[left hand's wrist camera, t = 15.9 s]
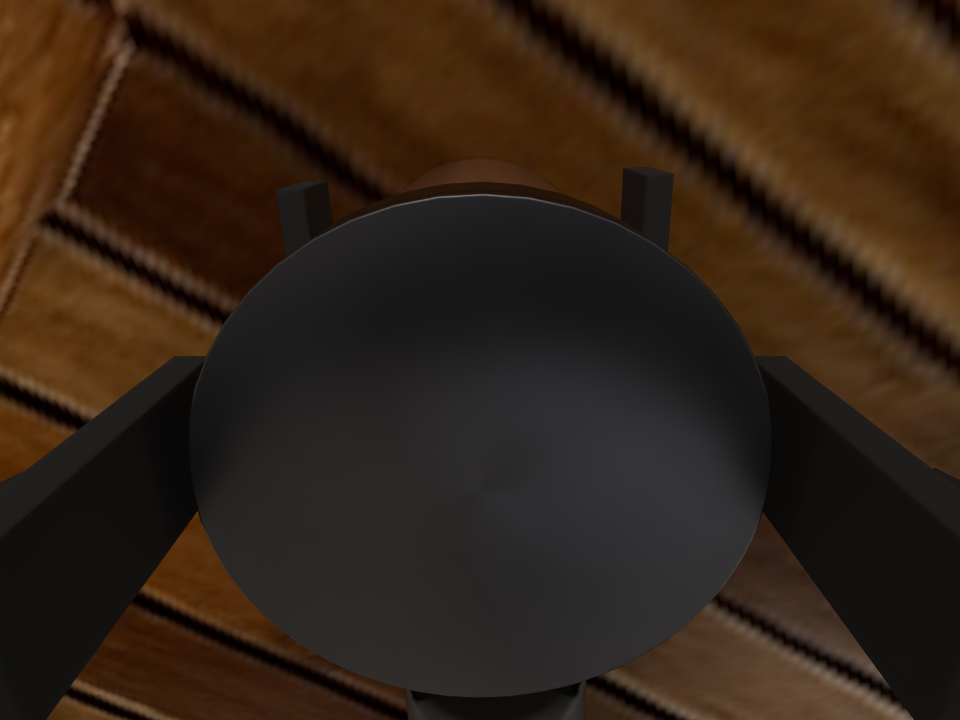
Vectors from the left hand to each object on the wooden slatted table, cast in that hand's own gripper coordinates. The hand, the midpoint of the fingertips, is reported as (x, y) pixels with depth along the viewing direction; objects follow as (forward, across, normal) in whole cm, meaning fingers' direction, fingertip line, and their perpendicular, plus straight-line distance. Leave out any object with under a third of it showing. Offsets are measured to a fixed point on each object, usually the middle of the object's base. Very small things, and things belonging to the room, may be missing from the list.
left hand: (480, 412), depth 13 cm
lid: (-3, 0, 0) cm, 3 cm away
